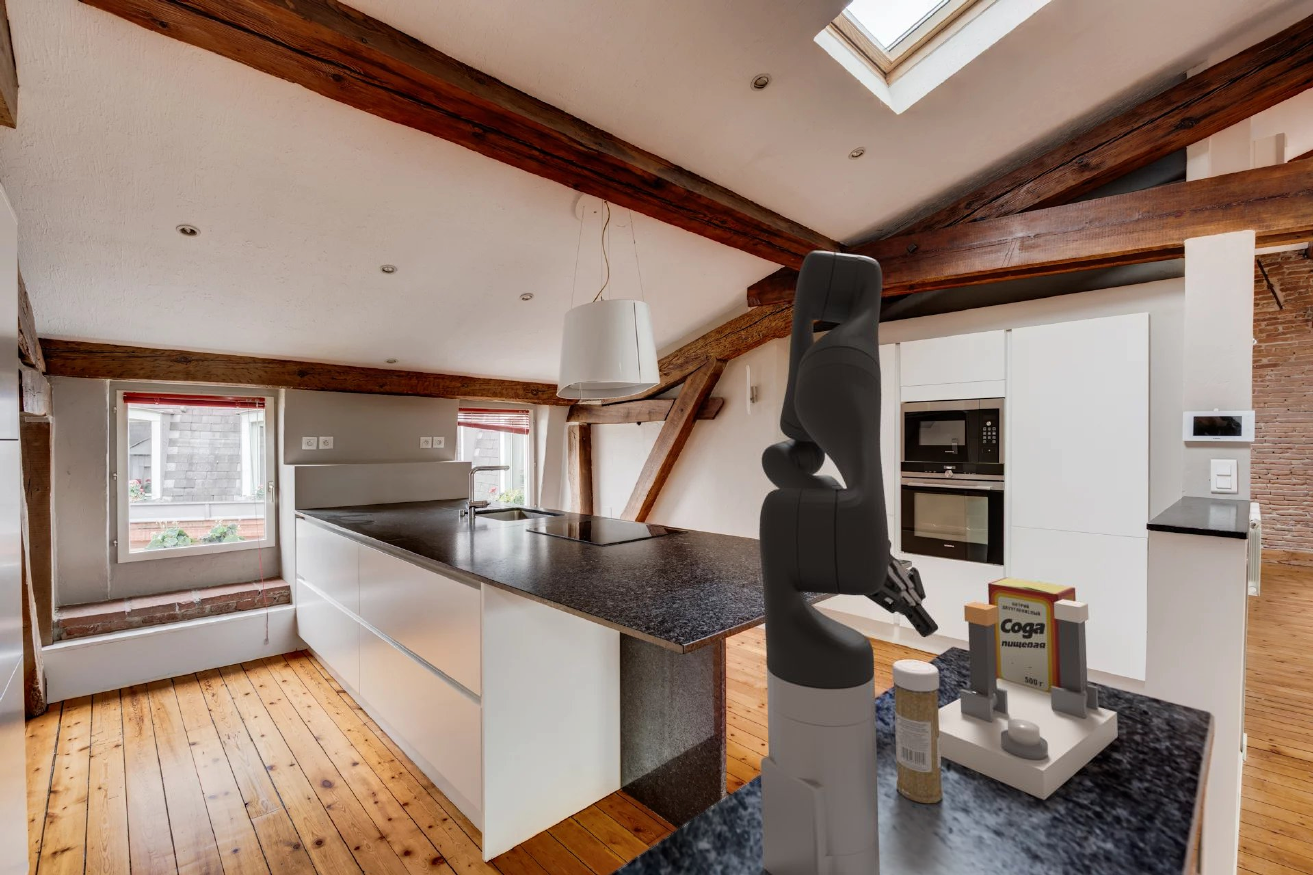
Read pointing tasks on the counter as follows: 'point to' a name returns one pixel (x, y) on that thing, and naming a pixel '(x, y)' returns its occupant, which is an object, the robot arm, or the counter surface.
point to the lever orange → (982, 648)
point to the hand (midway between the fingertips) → (931, 633)
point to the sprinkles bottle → (917, 730)
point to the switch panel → (1052, 729)
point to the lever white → (1072, 644)
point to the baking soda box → (1028, 631)
